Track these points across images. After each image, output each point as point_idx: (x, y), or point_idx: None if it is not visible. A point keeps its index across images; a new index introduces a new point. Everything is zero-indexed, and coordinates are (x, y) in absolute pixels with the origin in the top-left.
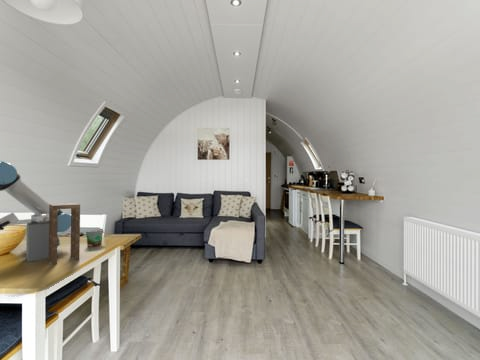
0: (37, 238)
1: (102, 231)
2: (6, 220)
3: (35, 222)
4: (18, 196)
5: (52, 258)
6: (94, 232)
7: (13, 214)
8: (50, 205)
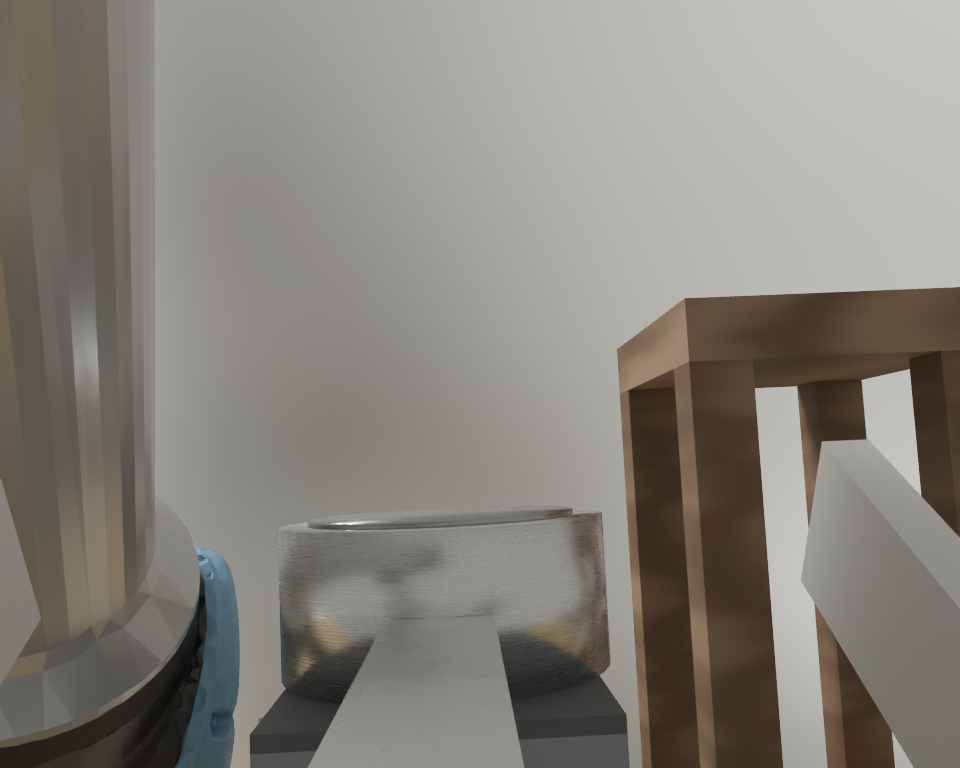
0: None
1: None
2: None
3: (578, 660)
4: (67, 15)
5: None
6: None
7: (8, 544)
8: (785, 308)
